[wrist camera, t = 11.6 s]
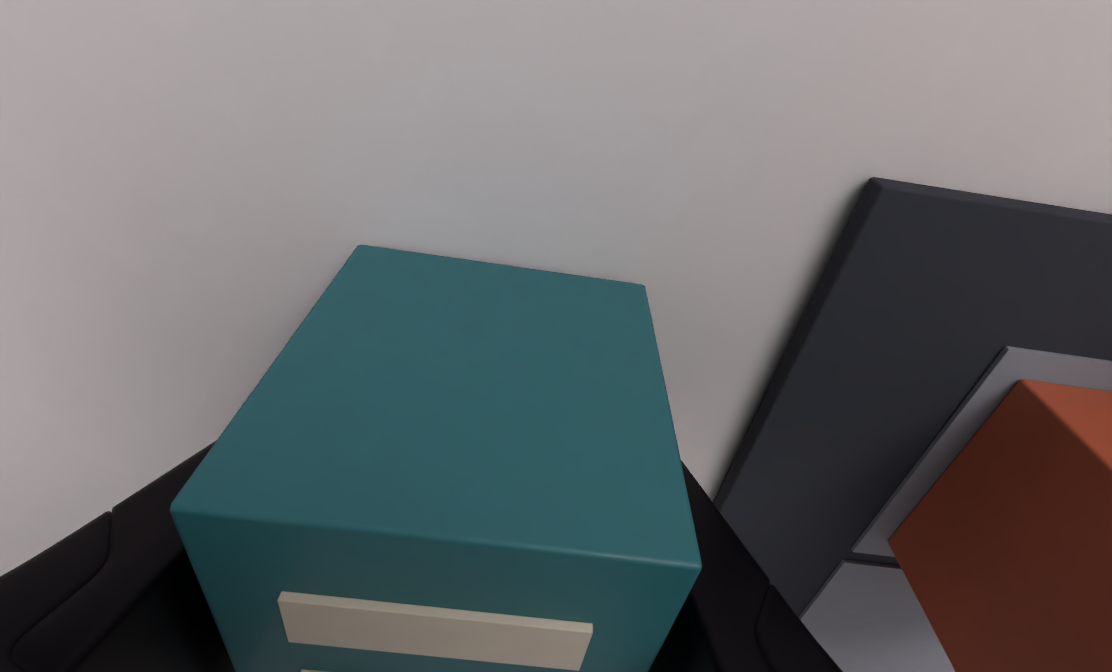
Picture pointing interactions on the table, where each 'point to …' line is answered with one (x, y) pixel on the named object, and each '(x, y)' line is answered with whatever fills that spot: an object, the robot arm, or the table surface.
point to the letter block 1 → (449, 480)
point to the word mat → (907, 395)
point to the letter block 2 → (1021, 537)
